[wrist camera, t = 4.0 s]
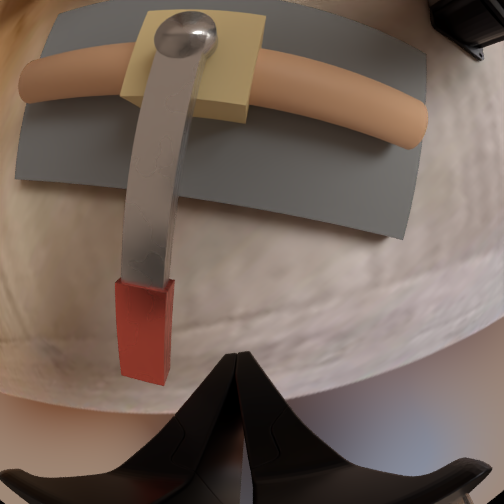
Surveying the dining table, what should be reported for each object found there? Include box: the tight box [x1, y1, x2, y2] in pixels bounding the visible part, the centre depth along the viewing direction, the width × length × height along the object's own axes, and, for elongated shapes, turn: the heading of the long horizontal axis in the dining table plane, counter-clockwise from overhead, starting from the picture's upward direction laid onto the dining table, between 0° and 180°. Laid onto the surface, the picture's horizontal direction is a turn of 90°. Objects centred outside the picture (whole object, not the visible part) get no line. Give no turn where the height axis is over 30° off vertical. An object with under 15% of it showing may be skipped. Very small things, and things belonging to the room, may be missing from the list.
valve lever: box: [115, 11, 218, 386], centre depth 10 cm, size 16×2×1 cm, turn 170°
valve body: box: [15, 0, 428, 240], centre depth 11 cm, size 28×14×6 cm, turn 80°
